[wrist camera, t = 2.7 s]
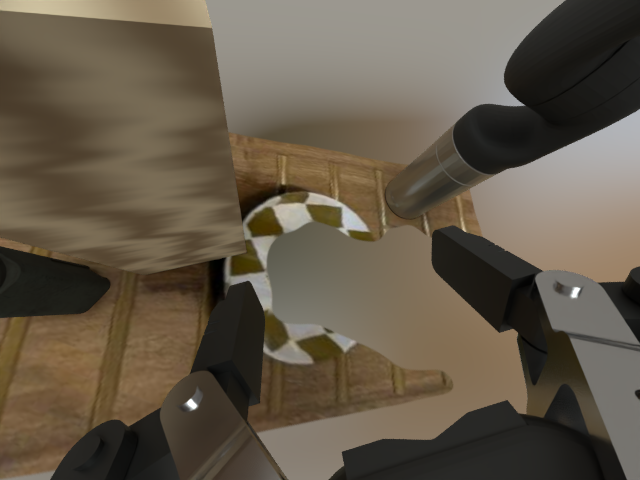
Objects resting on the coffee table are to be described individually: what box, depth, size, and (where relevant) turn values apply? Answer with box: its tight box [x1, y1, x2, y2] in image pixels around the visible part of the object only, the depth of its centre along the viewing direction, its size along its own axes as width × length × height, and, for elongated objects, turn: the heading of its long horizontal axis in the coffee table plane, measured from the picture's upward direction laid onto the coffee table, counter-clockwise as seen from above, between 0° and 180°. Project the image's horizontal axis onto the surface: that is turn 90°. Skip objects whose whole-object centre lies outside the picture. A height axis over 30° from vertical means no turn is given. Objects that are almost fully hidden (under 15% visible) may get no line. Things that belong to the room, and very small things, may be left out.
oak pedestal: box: [0, 0, 247, 275], centre depth 21 cm, size 14×14×32 cm
